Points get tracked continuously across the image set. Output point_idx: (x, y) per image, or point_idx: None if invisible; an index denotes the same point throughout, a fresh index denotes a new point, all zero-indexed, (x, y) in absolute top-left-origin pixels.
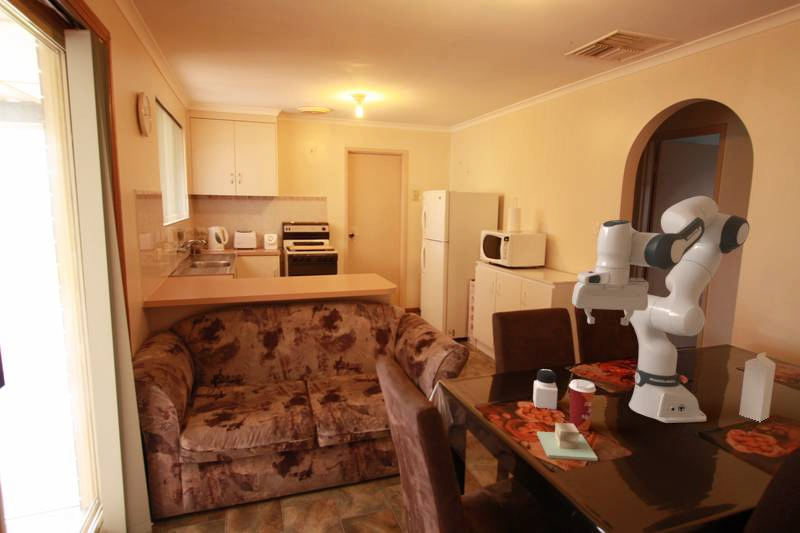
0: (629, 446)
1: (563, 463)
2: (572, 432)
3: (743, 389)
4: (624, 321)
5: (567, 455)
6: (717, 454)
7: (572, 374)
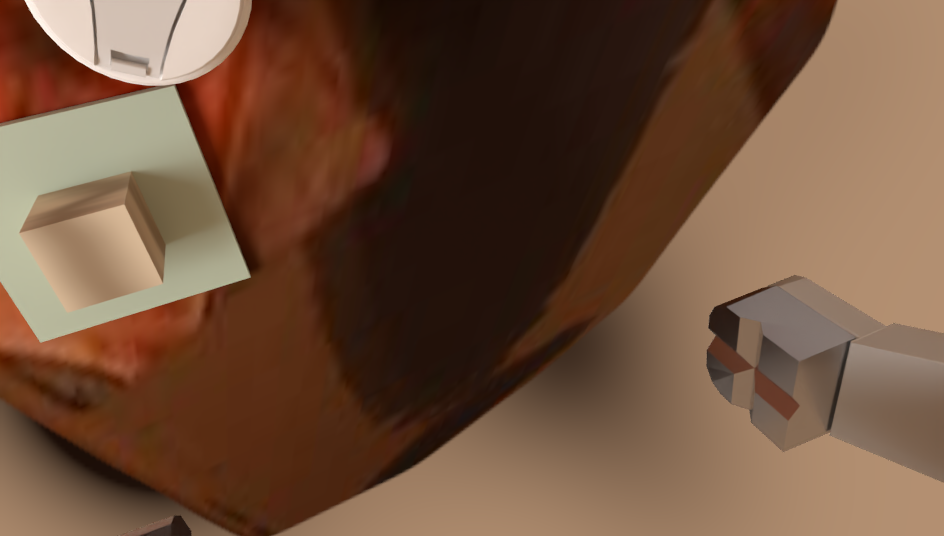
0: (391, 99)
1: (116, 343)
2: (130, 291)
3: None
4: (768, 420)
5: (125, 310)
6: (691, 42)
7: None
